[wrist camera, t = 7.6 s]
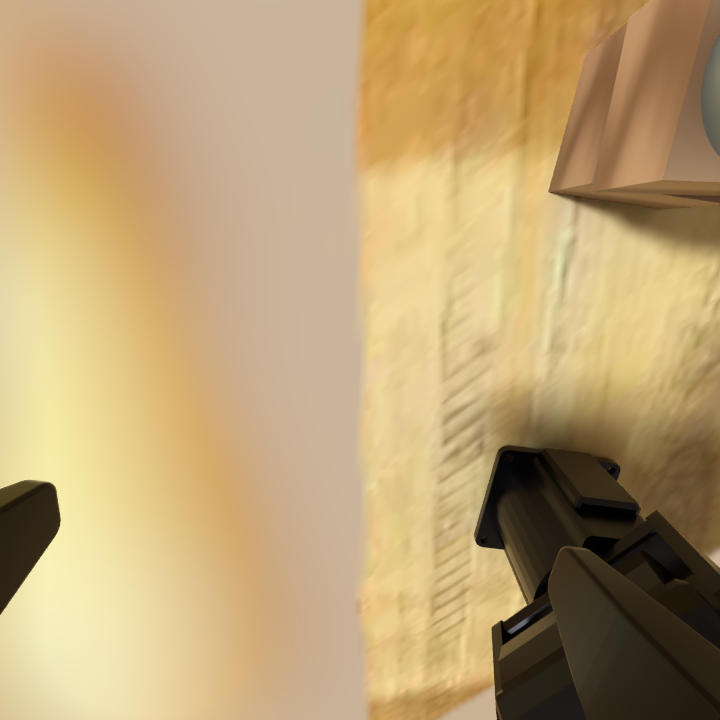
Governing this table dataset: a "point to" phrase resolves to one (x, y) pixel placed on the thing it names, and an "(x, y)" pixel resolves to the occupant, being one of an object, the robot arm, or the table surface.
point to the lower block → (601, 135)
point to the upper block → (662, 104)
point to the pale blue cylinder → (712, 97)
